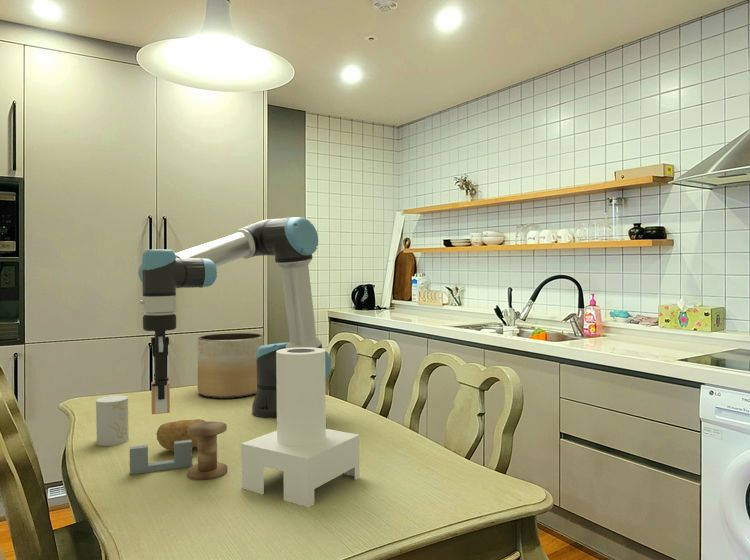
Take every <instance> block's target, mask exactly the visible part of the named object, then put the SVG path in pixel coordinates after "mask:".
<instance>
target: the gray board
mask: <svg viewBox="0 0 750 560" xmlns="http://www.w3.org/2000/svg"><path fill="white" fill-rule="evenodd" d="M173 456H174V459H171V460H161V461H154V462H149V445H148V444H143V445H135V446H129V475H130V476H131V475H136V474H145V473H151V472H152V473H153V472H160V471H167V470H174V469H181V468H187V467H188V468H190V467H191V466H193V448H192V440H184V441H175V442H174V451H173Z"/></svg>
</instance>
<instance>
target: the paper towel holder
mask: <svg viewBox="0 0 750 560" xmlns="http://www.w3.org/2000/svg"><path fill="white" fill-rule="evenodd" d="M325 351H326V349H325V348H323V347H322V348H313V347H296V348H285V349H280V350H277V351H276V378H277V417H276V430H275V431H271V432H268V433H266V434H264V435H261V436H258V437H256V438H253V439H249V440H247V441H245V442H241V444H240V453H241V455H240V456H241V459H240V460H241V465H240V466H241V489H242V488H243V490H245V489H247V491H249V490H251V491H250V492H252V491H254V492H253V493H256V492H258V493H257V494H259V493H261V494H260V495H263V494H264V495H265V491H264V490H265V489H264V487H265V486H264V483H265V482H264V481H265V480H264V479H265V477H264V473H265V472H264V467H265V468H270V469H275V470H279V471H282V472H283V501H284V500H286V501H285V502H287V501H289V502H288V503H291V502H293V503H292V504H295V503H296V504H295V505H298V504H300V505H299V506H302V505H304V506H303V507H305V506H308V507H307V508H310V507H311V505H312V504H313V505H315V489H317V488H319V487H321V486H323V485H324V484H327V483H328V482H330V481H331V480H333V479H335V478H337V477H339V476H342V475H346V474H349V475H348V476H350V475H353V476H352V477H354V480H355V479H356V480H358V479H359V477H360V475H361V474H360V468H361V467H360V434H357V433H351V432H346V431H341V430H335V429H331V428H326V427H327V426H326V425H327V424H326V421H327V418H326V415H327V414H326V412H327V410H326V407H327V406H326V405H327V404H326V401H327V400H326V380H325ZM343 473H344V474H343ZM357 478H358V479H357ZM360 478H361V477H360ZM313 505H312V506H313ZM309 506H310V507H309Z"/></svg>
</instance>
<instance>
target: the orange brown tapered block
mask: <svg viewBox="0 0 750 560" xmlns="http://www.w3.org/2000/svg"><path fill="white" fill-rule="evenodd" d="M150 383H151V385H150V386H151V388H150V389H151V393H150V394H151V415H159V414H161V415H162V413H155V386H153V387H152V384H155V381H151V382H150ZM170 387H171V386H170V380H168V382H167V412H165V413H164V414H170V413H171V412H170V409H171V408H170V407H171V405H170V404H171V403H170V402H171V401H170V400H171V399H170V394H171V393H170V391H171V390H170Z"/></svg>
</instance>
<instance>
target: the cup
mask: <svg viewBox="0 0 750 560" xmlns="http://www.w3.org/2000/svg"><path fill="white" fill-rule="evenodd" d="M95 408H96V409H95V411H96V414H95V415H96V416H95V417H96V419H95V421H96V422H95V423H96V444H97V445H98V446H102V447H103V446H104V447H107V446H108V447H110V446H116V445H117V446H118V445H121V444H125V443H126V442H128V441H129V440H130V439H129V438H130V437H129V436H130V435H129V433H130V431H129V397H128V396H127V395H108V396H103V397H100V398H97V399H96V400H95Z"/></svg>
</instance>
